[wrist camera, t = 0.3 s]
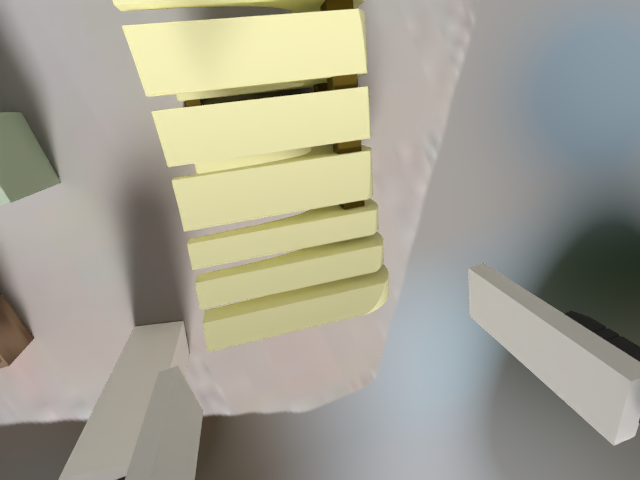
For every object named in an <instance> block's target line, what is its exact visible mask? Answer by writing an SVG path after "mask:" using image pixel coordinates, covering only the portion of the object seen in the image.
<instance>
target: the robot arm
mask: <svg viewBox="0 0 640 480" xmlns="http://www.w3.org/2000/svg"><path fill="white" fill-rule="evenodd" d="M469 301H470V303H469V304H470V317H472V318H473V319H474V320H475V321H476V322H477V323H478V324H480V326H482V327H483V328H484V329H485V330H486V331H487V332H488V333H489V334H491V335H492V336H493V337H494V338H495V339H496V340H497V341H498V342H499V343H500V344H502V345H503V346H504V347H505V348H506V349H507V350H508V351H509V352H510V353H512V354H513V355H514V356H515V357H516V358H517V359H518V360H519V361H520V362H522V363H523V364H524V365H525V366H526V367H527V368H528V369H529V370H530V371H531V372H533V373H534V374H535V375H536V376H537V377H539V379H540V380H542V381H543V382H544V383H545V384H546V385H547V386H548V387H549V388H550V389H552V390H553V391H554V392H555V393H556V394H557V395H558V396H559V397H560V398H562V399H563V400H564V401H565V402H566V403H567V404H568V405H569V406H570V407H572V408H573V409H574V410H575V411H576V412H577V413H578V414H579V415H581V417H583V418H584V419H585V420H586V421H587V422H588V423H589V424H590V425H591V426H593V427H594V428H595V429H596V430H597V431H598V432H599V433H600V434H601V435H603V436H604V437H605V438H606V439H607V440H608V441H609V442H610V443H612V444H613V445H616V444H619V443H621V442H623V441H625V440H628V439H630V438H632V437H635V435H636V432H637V428H638V425H639V423H640V347H639V346H638V345H636V344H634V343H633V342H631V341H629V340H628V339H626V338H624V337H620V336H619V335H618V334H617V333H616V332H614V331H612V330H610V329H607V328H606V327H605V326H604V325H602V324H601V323H599V322H597V321H596V320H594V319H592V318H590V317H588V316H585V315H582V314H579V313H576V312H574V311H569V312H567V313H564V314H563V313H562V312H560V311H558V310H557V309H555V308H554V307H552V306H551V305H549V304H547V303H546V302H544V301H542V300H541V299H539V298H538V297H536V296H534V295H533V294H532V293H530V292H528V291H527V290H525V289H524V288H522V287H520V286H519V285H517V284H516V283H514V282H513V281H511V280H509V279H508V278H506V277H505V276H503V275H501V274H500V273H498V272H497V271H495V270H494V269H492V268H490V267H489V266H487V265H486V264H484V263H483V264H480V265H477V266H474V267H471V268H469ZM202 416H203V409H202V408H201V406H200V404H199V402H198V401H197V399H196V397H195V395H194V394H193V392H192V390H191V388H190V386H189V385H188V383H187V381H186V379H185V378H184V376H183V374H182V372H181V370H180V369H179V367H178V366H176V367H173V368H170V369H167V370H164V371H161V372H159V373H158V376H157V379H156V382H155V386H154V389H153V392H152V395H151V398H150V401H149V405H148V408H147V411H146V414H145V417H144V420H143V424H142V427H141V430H140V433H139V436H138V439H137V443H136V446H135V449H134V452H133V455H132V458H131V461H130V465H129V468H128V471H127V474H126V476H124V477H122V478H119V479H116V480H194V478H195V471H196V462H197V454H198V448H199V440H200V432H201V424H202Z"/></svg>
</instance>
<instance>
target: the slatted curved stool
mask: <svg viewBox="0 0 640 480" xmlns="http://www.w3.org/2000/svg"><path fill="white" fill-rule="evenodd" d="M112 1H113V3H114V5H115V6H116V7H117V8H118V9H120V10H121V11H133V10H150V9H169V8H190V7H220V6H262V7H276V8H283V9H287V10H290V11H293V12H294V13H291V14H277V15H264V16H250V17H236V18H222V19H208V20H194V21H180V22H166V23H152V24H138V25H124V26H122V28H123V31H124V33H125V36H126V39H127V42H128V45H129V47H130V50H131V53H132V56H133V59H134V61H135V64H136V67H137V70H138V73H139V76H140V79H141V82H142V85H143V88H144V91H145V94H146V96H150V97H152V96H162V95H171V94H176V96H177V100H178V101H180V102H182V101H185V103H186V107H184V108H175V109H167V110H158V111H151V112H152V116H153V119H154V122H155V125H156V129H157V132H158V135H159V138H160V142H161V145H162V149H163V152H164V155H165V159H166V162H167V166H168V167H173V166H180V165H187V164H195V168H196V172H197V174H194V175H188V176H181V177H175V178H173V179H172V184H173V188H174V192H175V196H176V200H177V204H178V208H179V212H180V216H181V220H182V225H183V229H184V232H185V231H191V230H196V229H202V228H208V227H214V226H219V225H225V224H231V223H236V222H242V221H248V220H253V219H259V218H265V217H270V216H276V215H282V214H287V213H293V212H299V211H304V210H308V211H306V212H304V213H301V214H298V215H295V216H292V217H288V218H285V219H281V220H277V221H273V222H269V223H264V224H260V225H255V226H251V227H246V228H241V229H236V230H231V231H226V232H221V233H216V234H211V235H205V236H200V237H195V238H189V241H188V243H187V247H188V251H189V256H190V261H191V266H192V270H196V269H201V268H206V267H211V266H216V265H221V264H226V263H231V262H236V261H241V260H247V259H252V258H257V257H262V256H267V255H272V254H277V253H282V252H287V251H292V250H297V251H294V252H291V253H288V254H284V255H281V256H277V257H274V258H270V259H266V260H262V261H258V262H254V263H250V264H245V265H241V266H237V267H232V268H227V269H223V270H218V271H213V272H209V273H204V274H199V275H197V278H196V282H195V286H196V291H197V296H198V301H199V307H200V310H202V309H207V308H211V307H216V306H220V305H225V304H230V303H234V302H239V301H243V302H239V303H235V304H231V305H227V306H222V307H218V308H214V309H209V310H205V313H204V319H203V329H204V335H205V341H206V347H207V352H211V351H215V350H219V349H223V348H227V347H232V346H236V345H240V344H244V343H248V342H253V341H257V340H261V339H265V338H269V337H273V336H278V335H282V334H286V333H290V332H294V331H299V330H303V329H307V328H311V327H315V326H319V325H324V324H328V323H332V322H336V321H340V320H345V319H349V318H353V317H357V316H361V315H365V314H368V313H370V312H373V311H375V310H376V309H378V308H380V307H381V306H382V305H383V304H384V303H385V302H386V300H387V299H388V296H389V278H388V270H387V268H386V267H385V265H384V264H383V262H384V253H383V238H382V236H381V235H380V234H379V233H378V232H377V230H378V205H377V203H376V202H374V201H373V200H371V199H370V197H372V195H373V179H372V155H371V148H369V147H366V146H363V145H361V140H362V139H369V138H371V132H370V109H369V87H368V86H367V87H358V78H357V77H358V76H361V75H365V74H367V73H368V65H367V43H366V21H365V12H364V11H363V10H360V9H356V8H357V7H358V6H359V5H360V4H361V3H362V2H364V1H365V0H112ZM307 87H314V93H306V94H297V95H289V96H280V97H271V98H262V99H254V100H245V101H236V102H228V103H219V104H210V105H202V102H201V99H209V98H218V97H227V96H236V95H245V94H254V93H263V92H272V91H281V90H290V89H299V88H307ZM298 249H300V250H298ZM262 296H263V297H262ZM257 297H259V298H257ZM253 298H255V299H253ZM248 299H251V300H248ZM244 300H247V301H244Z"/></svg>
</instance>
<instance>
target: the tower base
mask: <svg viewBox="0 0 640 480" xmlns="http://www.w3.org/2000/svg"><path fill="white" fill-rule="evenodd" d="M33 339H34V337H33V336H32V334H31V333H30V332H29V330H28V329H27V328H26V326H25V325H24V324H23V322H22V321H21V320H20V318H19V317H18V316H17V314H16V313H15V312H14V310H13V309H12V308H11V306H10V305H9V304H8V302H7V301H6V300H5V298H4V297H3V296H2V294H1V293H0V361H1V363H0V368H3V367H6V366H9V365H10V364H11V363H12V362H13V361H14V360H15V359H16V358H17V357H18V356H19V354H20V353H21V352H22V351H23V350H24V349H25V348H26V347H27V346H28V345H29V344H30V342H31V341H32V340H33Z"/></svg>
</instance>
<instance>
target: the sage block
mask: <svg viewBox="0 0 640 480" xmlns="http://www.w3.org/2000/svg"><path fill="white" fill-rule="evenodd" d="M59 183H61V182H60V180H59V178H58V177H57V175H56V173H55V171H54V170H53V168H52V166H51V164H50V162H49V161H48V159H47V157H46V155H45V154H44V152H43V150H42V148H41V146H40V145H39V143H38V141H37V139H36V137H35V136H34V134H33V132H32V130H31V129H30V127H29V125H28V123H27V121H26V120H25V118H24V116H23V114H22V113H21V112H0V205H3V204H7V203H11V202H14V201H16V200H19V199H21V198H24V197H26V196H29V195H31V194H34V193H36V192H39V191H41V190H44V189H46V188H49V187H52V186H54V185H57V184H59Z"/></svg>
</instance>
